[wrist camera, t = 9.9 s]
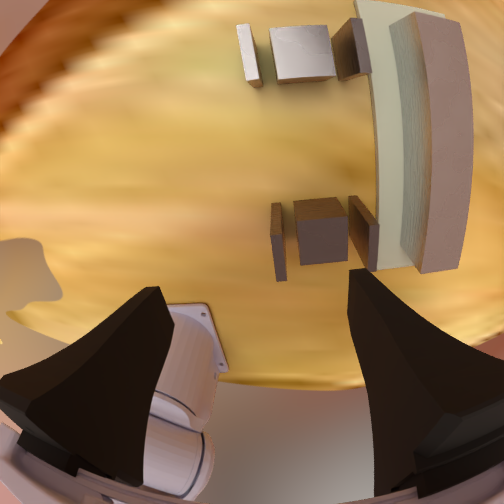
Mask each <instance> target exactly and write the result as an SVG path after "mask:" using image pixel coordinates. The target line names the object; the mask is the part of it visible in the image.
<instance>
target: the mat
mask: <svg viewBox="0 0 504 504" xmlns="http://www.w3.org/2000/svg"><path fill="white" fill-rule="evenodd" d="M354 5H355V9H356V14H357V18H362V20H363V25H364V30H365V34H366V39H367V44H368V50H369V56H370V61H371V68H372V73H371V74H368V77H369V85H370V92H371V101H372V111H373V122H374V135H375V153H376V221H377V222H378V223H379V225H380V229H379V247H378V261H377V270H383V269H391V268H399V267H406V266H414V264H413V263H412V261H411V260H410V258H409V257H408V256H407V254H406V253H405V251H404V250H403V249H402V247H401V246H400V237H401V225H402V210H403V182H404V155H403V128H402V113H401V102H400V92H399V83H398V76H397V69H396V62H395V56H394V50H393V45H392V40H391V35H390V30H389V25H391V24H393V23H395V22H396V21H398V20H400V19H402V18H403V17H405V16H407V15H409V14H410V13H412V12H414V11H415V12H420V13H425V14H429V15H433V16H437V17H441V18H445V15H444V14H441V13H437V12H433V11H429V10H425V9H420V8H416V7H411V6H406V5H400V4H394V3H387V2H380V1H371V0H355V1H354Z"/></svg>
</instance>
